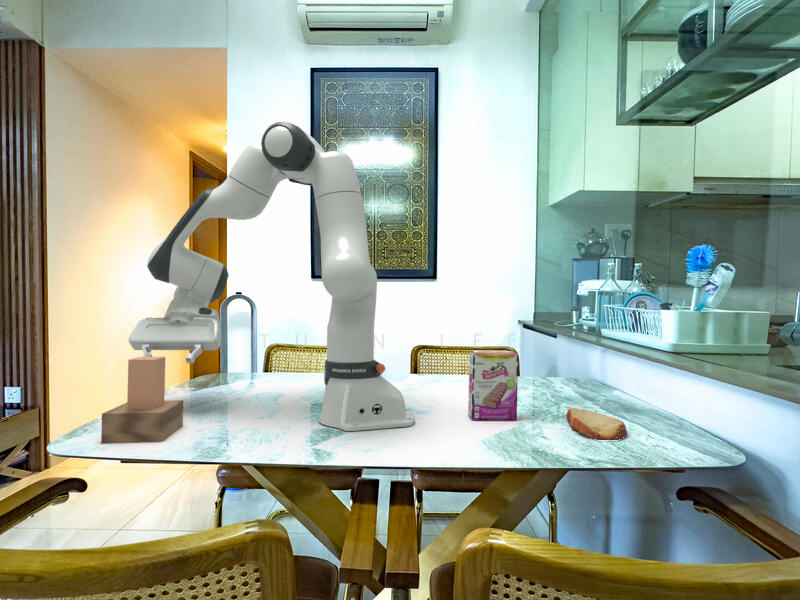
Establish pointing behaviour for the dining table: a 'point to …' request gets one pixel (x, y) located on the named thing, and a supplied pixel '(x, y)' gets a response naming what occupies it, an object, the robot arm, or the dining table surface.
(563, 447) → the dining table surface
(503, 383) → the candy bar box
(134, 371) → the terracotta block
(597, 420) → the slice of bread
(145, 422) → the walnut block
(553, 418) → the dining table surface
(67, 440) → the dining table surface
